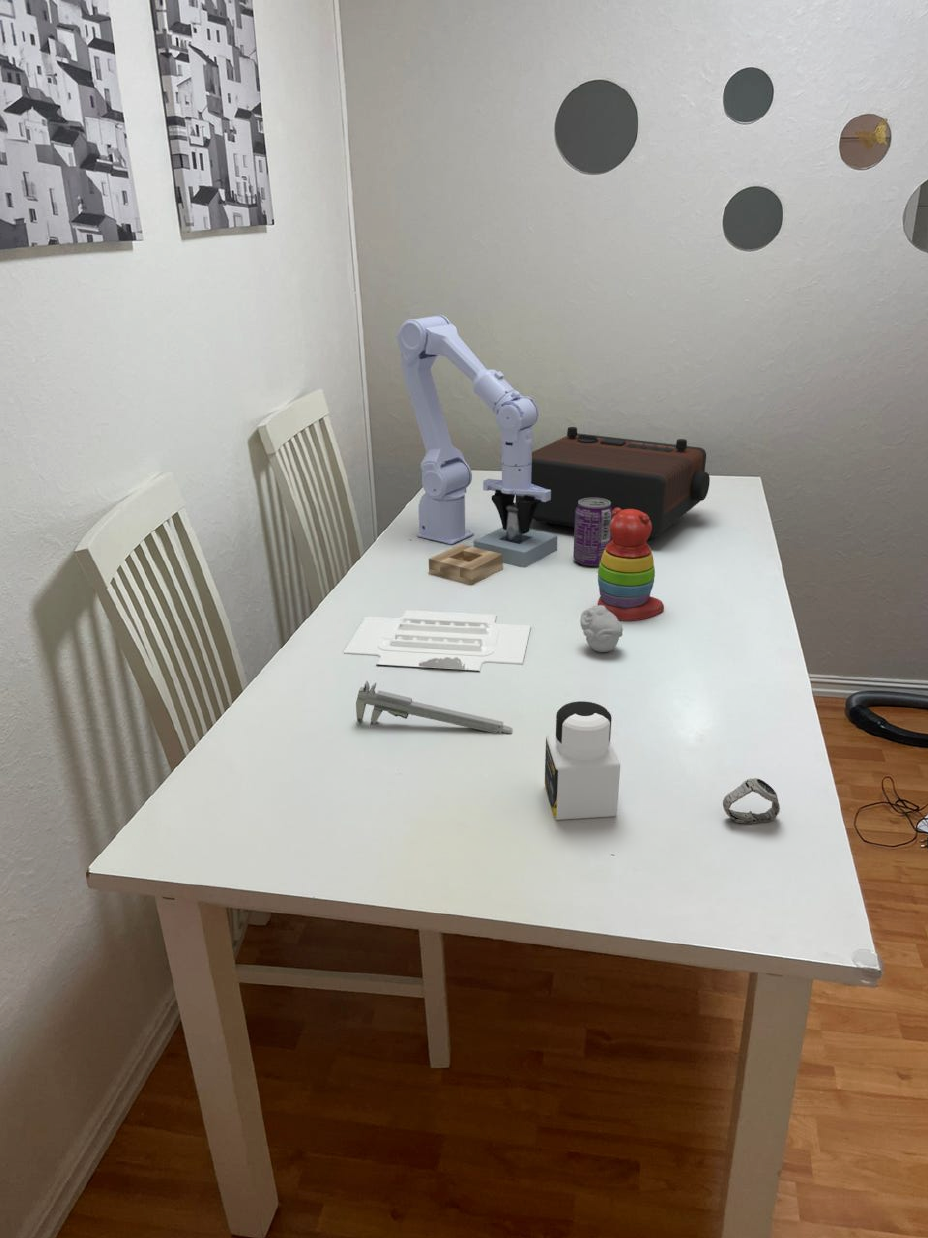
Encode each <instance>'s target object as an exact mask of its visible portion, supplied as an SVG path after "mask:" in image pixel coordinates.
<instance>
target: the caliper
mask: <svg viewBox="0 0 928 1238" xmlns="http://www.w3.org/2000/svg"><path fill="white" fill-rule="evenodd" d="M376 687H377V682H375V683H373V685H372V686H371V687H370V683H369V681H368V680H366V681H365V683H364V687H363V686H362V687H361V686H360V688H359V689H358V693H357V696H356V697H357V698H356V701H355V711H356V721H357V723H359V724H362V722H363V719H364V715H365V711H366V706H367V705H368V706H373V709H372V712H371V713H372V714H371V717H370V723H369V725H375V724H376V723H377V721H378V719H379V718H380V717H381V715H382V713H383V711H385V712H388V713H389V714H391V715H393V716H395V717H401V718H402V719H405V720H406V719H408V717H409V715H411V716H416V717H420V718H425V719H430V720H433V721H439V722H443V723H448V724H451V725H456V726H461V727H464V728H468V729H473V730H478V731H482V732H486V733H490V734H491V733H492V734H502V733H505V734H508V735H510V734H513V728H512V727H511V726H508V725H504V721H502V720H498V719H497V720H496V719H493V718H489V717H483V716H480V715H475V714H471V713H467V712H461V711H457V710H453V709H448V708H444V707H439V706H436V705H431V704H428V703H422V702H418V701H414V700H413V698H412V697H408V696H404V695H400V694H395V693H391V692H388V691H384V690H378V691H377V692H376Z"/></svg>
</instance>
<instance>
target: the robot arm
mask: <svg viewBox="0 0 928 1238" xmlns="http://www.w3.org/2000/svg"><path fill="white" fill-rule="evenodd" d="M457 329H458V328H457V327H456V326H455V325H454V324H453V323H451V321H450V320H449V319H448V318H447V317H446V316H445V315H443V314H437V315H436V314H435V315H433V316H427V317H420V318H415V319H414V318H409V319H408V318H407V320H405V321H404V322H403V323H402V324H401V326H400V328H399V331H398V333H397V335H396V340H397V343H398V347H399V350H400V367H401V371H402V374H403V375H402V376H403V378H404V382H405V385H406V389H407V391H408V395H409V398H410V402H411V406H412V409H413V411H414V415H415V419H416V422H417V425H418V426H417V427H418V429H419V432H420V436H421V440H422V442H423V447H424V450H425V455H424V457H423V459H422V461H421V463H420V468H421V484H422V488H423V490H424V492H425V493H423V495H422V496H421V497H420V499H419V502H418V530H419V532H418V533H417V534H416V536H417V537H419V538H424V539H428V540H432V541H435V542H440V543H444V544H449V545H454V544H456V543H459V542H460V541H462V540H464V539H467V538H469V537H471V536H474V534H475V532H474V531H470V530H468V529H467V530H466V493H467V488H468V487H469V486H470V485H471V483H472V479H473V472H472V469H471V467H470V465H469V464H468V463H467V462H466V460H465V458H464V455H463V452H462V451H461V450H460V449H458V448H456V447H455V446H454V445H453V443H452V439H451V436H450V433H449V429H448V427H447V423H446V420H445V416H444V415H445V414H444V412H443V408H442V406H441V402H440V397H439V394H438V391H437V388H436V385H435V380H434V378H433V374H432V371H431V368H432V366H433V364H434V362H435V361H436V359H437V358H438V357H439V356H443V357H445V358H447V359H448V361H450V362H451V363H452V364H453V365H455V367H457V368H458V370H459V371H460V372H461V373H463V374H464V375H465V376H466V377H467V378H469V380H470V381H471V382H472V383H473V392H474V394H476V396H477V397H478V398H479V399H480V400H481V401H482V402H483V403H484V404H485V405H486V406H487V407H488V409H490V410H491V412H492V413H493V415H495V422H496V425H497V427H498V429H499V431H500V438H501V479H494V478H487V479H484V480H482V482H483V483H482V485H483V486H482V489H483V491H493V492H494V494H492V495H491V501H492V503H493V504H494V507H496V510H497V512H498V516H499V518H500V522H501V525H502V527H503V530H506V527H507V510H506V504H507V503H515V502H514V501H515V499H516V495H517V496H523V497H524V499H520V500H518V501H517V504H518V508H519V513H520V531H521V534H525V533H527V532H529V530H531V526H532V521H533V520H534V519H533V516H534V513H535V511H536V509H537V507H538V505H539V504H540V502H541V501H542V502H547V501H549V500H551V490H548V489H544V488H542V487H539V486H536V485H533V484H531V471H532V452H533V426H534V425H535V424H536V423H537V422H538V419H539V409H538V406H537V404H536V402H534V399H533V398H531V397H530V396H523V395H522V394H521V393H520V392H519V391H518V390H515V388H513V386H511V384H510V383H509V382H508V381H507V380H506V379H505V375H504V374H503V372H502V371H497V370H496V369H487V368H486V367H485V366H484V365H483V363H482V362H481V361H480V360H479V358H478V357H477V356H476V355H475V353H474V352H472V350H471V348H469V346H468V345H467V344H466V343H465V342H464V341H463V339H462V337H460V335H459V334H458V333H459V332H458V330H457ZM502 527H501V528H502Z"/></svg>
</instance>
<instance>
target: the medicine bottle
mask: <svg viewBox="0 0 928 1238" xmlns="http://www.w3.org/2000/svg"><path fill="white" fill-rule="evenodd" d="M555 719H556V720H555V733H547V734H546V737H545V755H544V756H545V757H544V759H545V760H544V761H545V762H544V763H545V765H544V787H545V790H546V793H547V797H548V800H549V803H550V808H551V811H552V814H553V817H554V818H553V819H554V820H557V821H563V820H564V821H565V820H577V819H578V820H580V819H595V818H596V819H597V818H610V817H611V818H612V817H617V815H618V804H619V790H620V776H621V775H620V773H621V762H620V761H619V758H618V755H617V753H616V751H615V749H614V747H613V744H612V742H611V734H612V733H611V732H612V731H611V730H612V720H613V719H612V714H611V712H610V711H608V709H607V708H605V707H604V706H603V705H600V704H598V703H596V702H592V701H585V700H584V701H583V700H582V701H581V700H580V701H572V702H568V703H566V704H564V705H563V706H561V707H560V708H559V709H558V710H557V712H556V718H555Z"/></svg>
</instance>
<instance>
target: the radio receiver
mask: <svg viewBox="0 0 928 1238" xmlns="http://www.w3.org/2000/svg"><path fill="white" fill-rule="evenodd" d="M566 431H567V432H566V436H564V437H562V438H559V439H557V440H555V441H552V442H551V443H549V444H546V445H544V446H542V447H540V448H538V449H536V450H534V451H533V450H532V471H531V484H533V485H536V486H539V487H542V488H544V489H548V490H551V500H549V501H547V502H542V501H541V502H540V504H539V505H538V507H537V509H536V511H535V513H534V516H533V519H532V520H534V521H536V522H542V523H545V524H547V525H550V524H554V525H559V526H565V527H571V528H575V510H576V508H577V506H578V501H579V500H581V499H584V498H603V499H607V500H609V501H610V502H611V505H610V506H611V508H612V511H613V510H614V509H615V508H620V509H622V510H625V509H635V510H639V511H641V512H643V513H645V514H647V515H648V517H649V520H650V521H651V524H652V530H651V533H650V536H649V538H648V539H647V541H652V540H654V539H656V538H657V537H659V536H660V535H661V534H662V533H663V532H665V531H666V530H667V529H669V527H671V526H672V525H673V524H674V523H675V522H677V521H678V520H679V519H680V518H682V517H683V516H684V515H685V514H687V512H689V511H690V510H692V509H693V508H694V507H695V506H696V505H698V504H699V503H700V502H702V501H704V500H705V499H706V498H707V495H708V492H709V489H710V478H711V477H710V474H709V472H707V471H705V470H706V462H707V452H706V450H705V449H704V448H702V447H698V446H689V445H688V444H687V443H688V440H687V439H685V438H678V439H677V440H676V442H675V444H674V443H673V444H672V443H665V442H655V441H654V442H653V441H647V440H639V439H638V440H637V439H629V438H622V437H612V436H611V437H610V436H603V435H593V434H586V433H585V434H584V433H578V428H577V427H576V426H568V427H567V430H566ZM520 499H524V497H523V496H517V495H515V503H517V501H518V500H520Z"/></svg>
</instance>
